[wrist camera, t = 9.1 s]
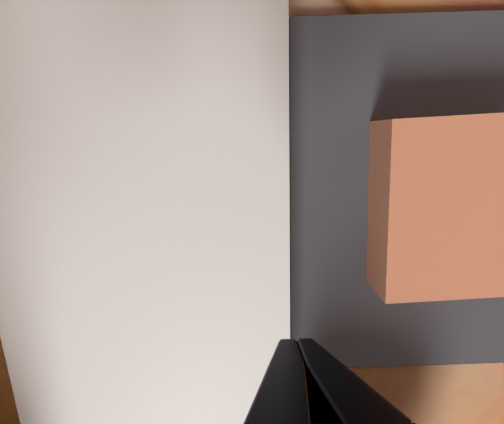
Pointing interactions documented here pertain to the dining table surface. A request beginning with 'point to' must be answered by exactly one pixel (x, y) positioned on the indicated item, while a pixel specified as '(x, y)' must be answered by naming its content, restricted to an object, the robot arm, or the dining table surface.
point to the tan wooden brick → (436, 208)
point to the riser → (143, 207)
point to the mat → (357, 168)
